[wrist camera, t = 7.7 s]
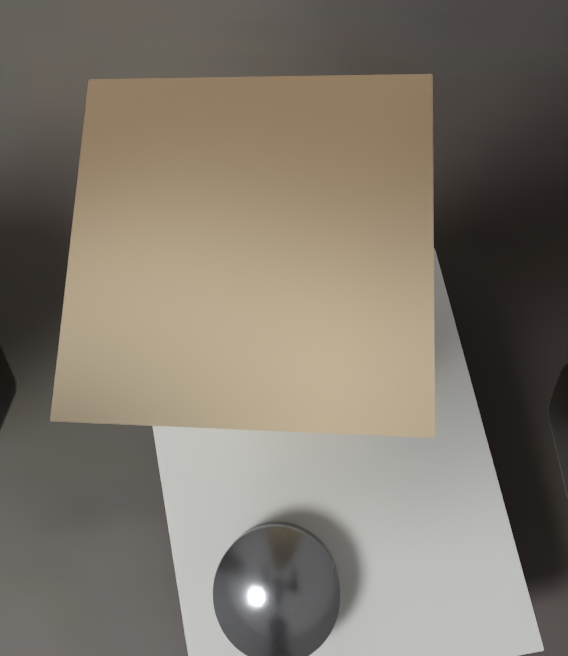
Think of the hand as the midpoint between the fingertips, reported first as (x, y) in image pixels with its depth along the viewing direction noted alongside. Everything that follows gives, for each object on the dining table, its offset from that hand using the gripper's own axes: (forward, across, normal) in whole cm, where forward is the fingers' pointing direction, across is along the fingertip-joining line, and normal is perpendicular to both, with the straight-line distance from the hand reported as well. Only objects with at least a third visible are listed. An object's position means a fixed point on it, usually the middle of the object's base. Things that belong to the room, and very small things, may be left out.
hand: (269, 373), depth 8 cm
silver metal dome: (+2, 0, +10) cm, 10 cm away
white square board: (+6, -1, +9) cm, 11 cm away
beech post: (+7, 0, +5) cm, 8 cm away
